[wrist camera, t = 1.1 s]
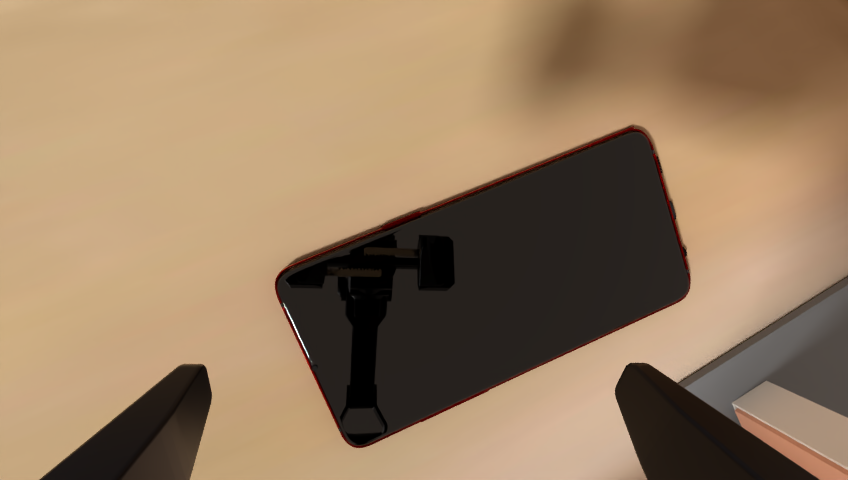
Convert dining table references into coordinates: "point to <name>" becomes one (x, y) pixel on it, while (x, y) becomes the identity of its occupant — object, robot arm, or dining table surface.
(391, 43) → the dining table surface
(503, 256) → the smartphone
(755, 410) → the cream and orange slab
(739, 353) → the charcoal mat
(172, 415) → the robot arm
